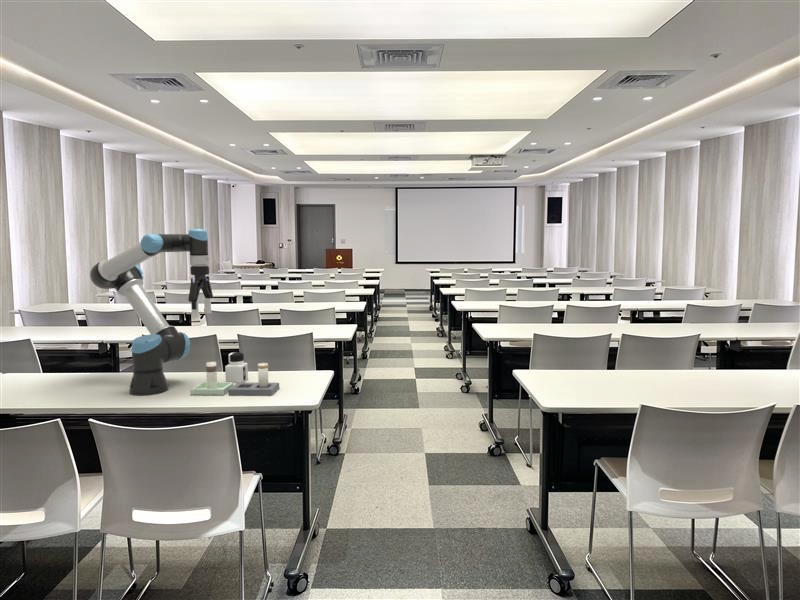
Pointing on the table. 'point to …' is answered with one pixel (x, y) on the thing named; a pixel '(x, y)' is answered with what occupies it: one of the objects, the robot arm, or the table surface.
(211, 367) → the fuse
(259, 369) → the cylinder
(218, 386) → the parts tray
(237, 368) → the container
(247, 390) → the fuse block
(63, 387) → the table surface
